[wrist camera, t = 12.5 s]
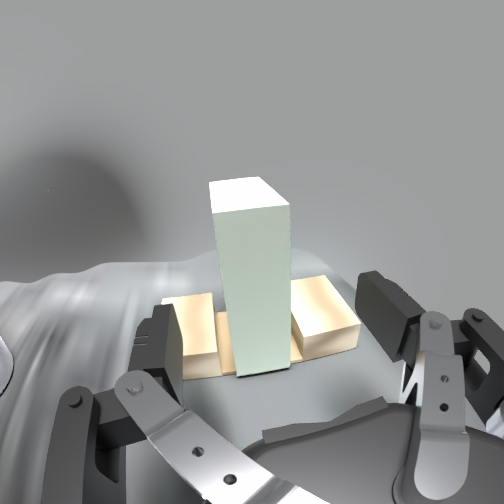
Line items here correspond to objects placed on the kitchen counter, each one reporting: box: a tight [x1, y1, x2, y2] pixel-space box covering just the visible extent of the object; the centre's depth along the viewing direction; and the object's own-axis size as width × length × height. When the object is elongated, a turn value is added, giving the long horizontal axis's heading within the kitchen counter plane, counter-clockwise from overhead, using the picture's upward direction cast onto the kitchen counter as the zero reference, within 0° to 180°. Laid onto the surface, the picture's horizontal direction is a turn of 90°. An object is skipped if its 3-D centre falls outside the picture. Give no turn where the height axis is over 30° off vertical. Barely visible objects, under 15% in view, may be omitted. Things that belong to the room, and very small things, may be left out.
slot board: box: [162, 275, 361, 380], centre depth 21 cm, size 14×7×2 cm, turn 100°
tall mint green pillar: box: [210, 177, 291, 376], centre depth 19 cm, size 4×8×11 cm, turn 10°
